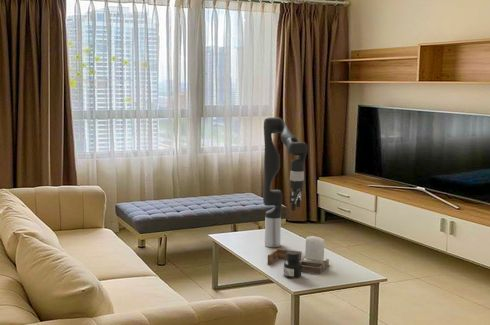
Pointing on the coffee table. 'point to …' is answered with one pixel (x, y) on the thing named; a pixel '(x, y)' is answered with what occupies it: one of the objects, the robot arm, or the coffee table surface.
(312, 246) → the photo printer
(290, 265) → the ink bottle
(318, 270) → the two-compartment wooden organizer
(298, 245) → the coffee table surface
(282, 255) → the wooden cubby shelf
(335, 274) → the coffee table surface
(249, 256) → the coffee table surface
